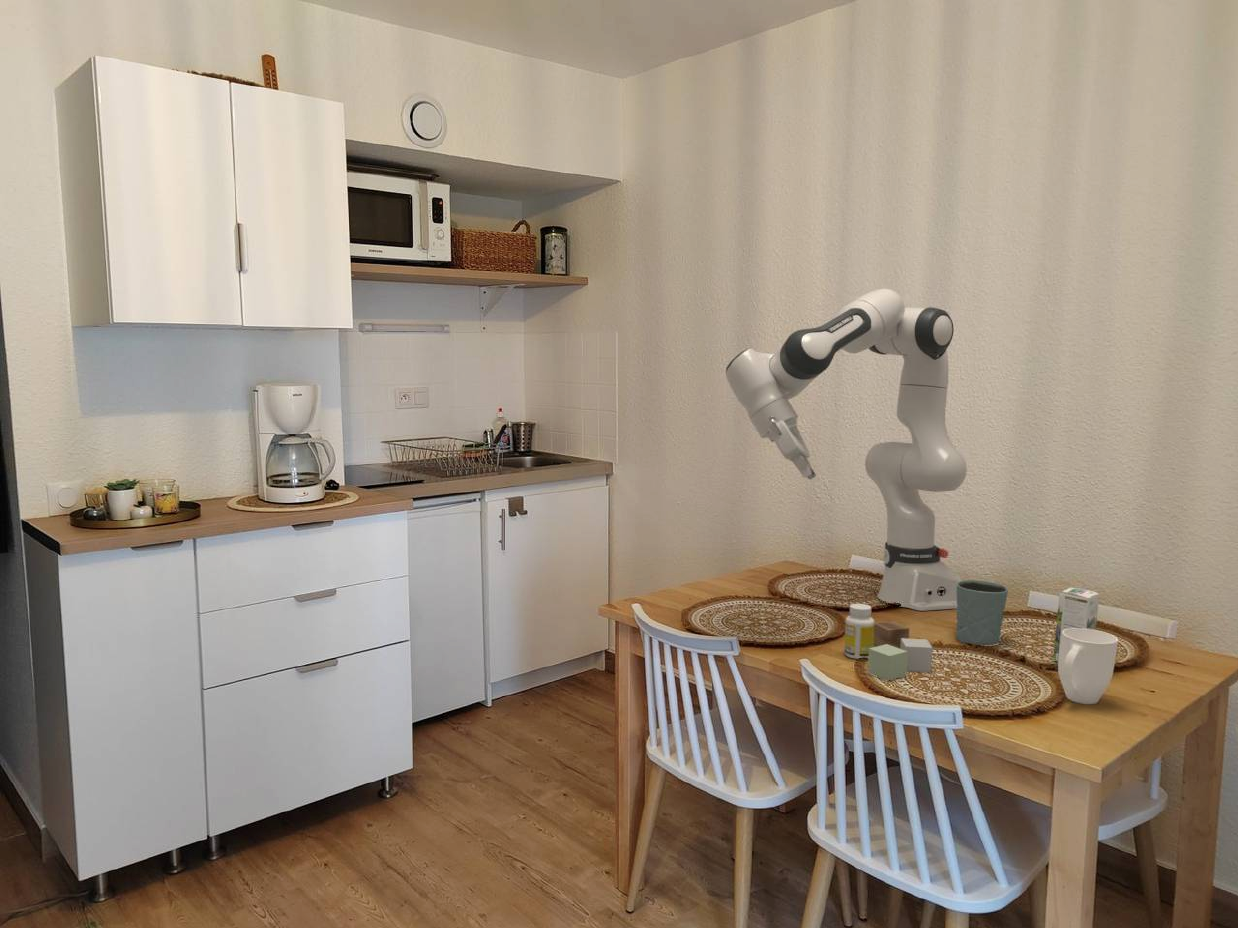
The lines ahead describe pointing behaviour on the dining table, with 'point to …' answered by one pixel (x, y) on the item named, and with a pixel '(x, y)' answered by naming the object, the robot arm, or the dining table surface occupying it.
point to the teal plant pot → (980, 611)
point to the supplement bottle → (859, 631)
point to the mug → (1086, 663)
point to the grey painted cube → (917, 654)
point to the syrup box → (1075, 613)
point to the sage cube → (887, 662)
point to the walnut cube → (889, 634)
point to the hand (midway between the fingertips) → (810, 477)
